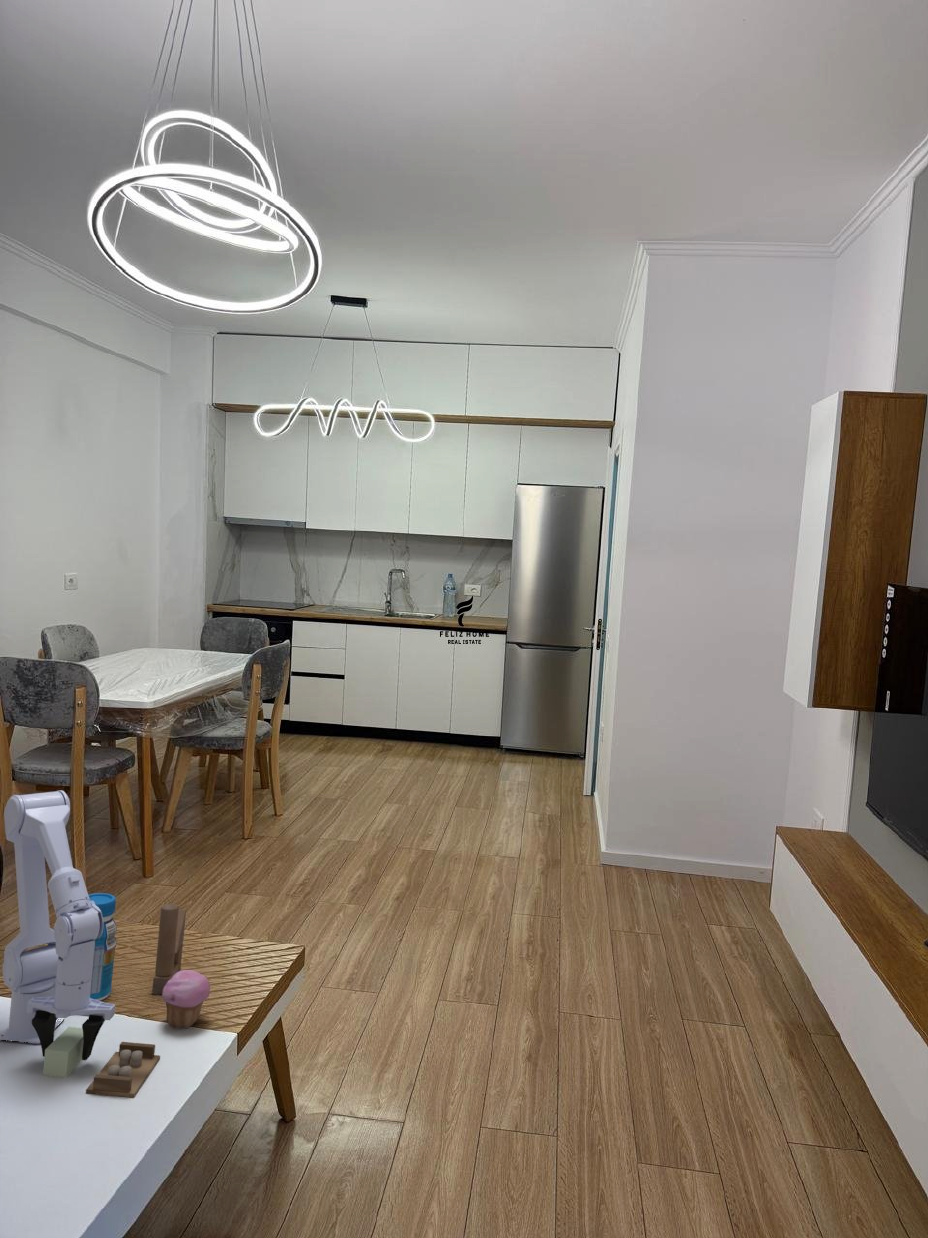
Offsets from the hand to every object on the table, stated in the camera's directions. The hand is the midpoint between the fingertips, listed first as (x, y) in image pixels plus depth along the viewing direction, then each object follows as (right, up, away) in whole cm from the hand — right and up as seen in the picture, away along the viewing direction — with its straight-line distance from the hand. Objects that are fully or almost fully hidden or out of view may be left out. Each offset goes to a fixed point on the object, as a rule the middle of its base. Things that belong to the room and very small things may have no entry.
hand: (66, 1055), depth 146 cm
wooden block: (+6, -2, +33) cm, 34 cm away
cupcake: (+15, -3, +17) cm, 23 cm away
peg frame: (+11, -2, -2) cm, 11 cm away
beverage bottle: (-7, -1, +25) cm, 26 cm away
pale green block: (0, -2, 0) cm, 2 cm away
